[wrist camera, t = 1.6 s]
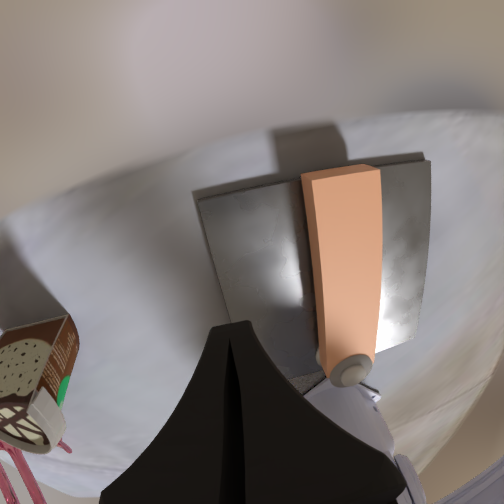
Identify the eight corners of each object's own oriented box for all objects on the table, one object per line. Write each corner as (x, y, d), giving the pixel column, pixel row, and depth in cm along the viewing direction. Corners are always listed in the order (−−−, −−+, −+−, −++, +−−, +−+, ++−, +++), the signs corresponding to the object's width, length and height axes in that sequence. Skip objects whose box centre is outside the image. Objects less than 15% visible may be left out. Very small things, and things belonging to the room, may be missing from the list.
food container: (31, 375, 22) (0, 447, 13) (-2, 331, 19) (-47, 402, 10) (119, 365, 22) (95, 465, 13) (82, 310, 19) (32, 412, 10)
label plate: (425, 159, 17) (432, 161, 17) (411, 335, 25) (415, 340, 24) (198, 199, 17) (197, 203, 16) (251, 383, 24) (252, 390, 23)
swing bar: (362, 359, 23) (375, 383, 21) (319, 372, 23) (330, 398, 21) (361, 163, 16) (387, 172, 13) (299, 173, 16) (316, 183, 13)
